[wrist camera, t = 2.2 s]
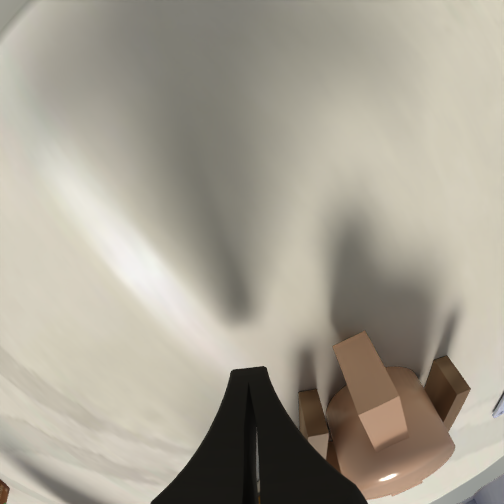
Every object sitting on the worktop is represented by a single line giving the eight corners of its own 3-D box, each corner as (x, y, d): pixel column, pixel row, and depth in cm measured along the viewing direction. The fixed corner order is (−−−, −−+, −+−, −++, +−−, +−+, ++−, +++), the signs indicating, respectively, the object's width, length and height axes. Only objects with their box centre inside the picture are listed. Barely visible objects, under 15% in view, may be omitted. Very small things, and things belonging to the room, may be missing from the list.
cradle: (447, 355, 15) (470, 388, 13) (421, 423, 18) (435, 453, 15) (298, 392, 15) (307, 437, 13) (300, 453, 18) (306, 489, 15)
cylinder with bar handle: (421, 408, 17) (452, 468, 12) (343, 444, 18) (361, 509, 13) (400, 298, 13) (460, 378, 8) (284, 354, 14) (304, 452, 9)
